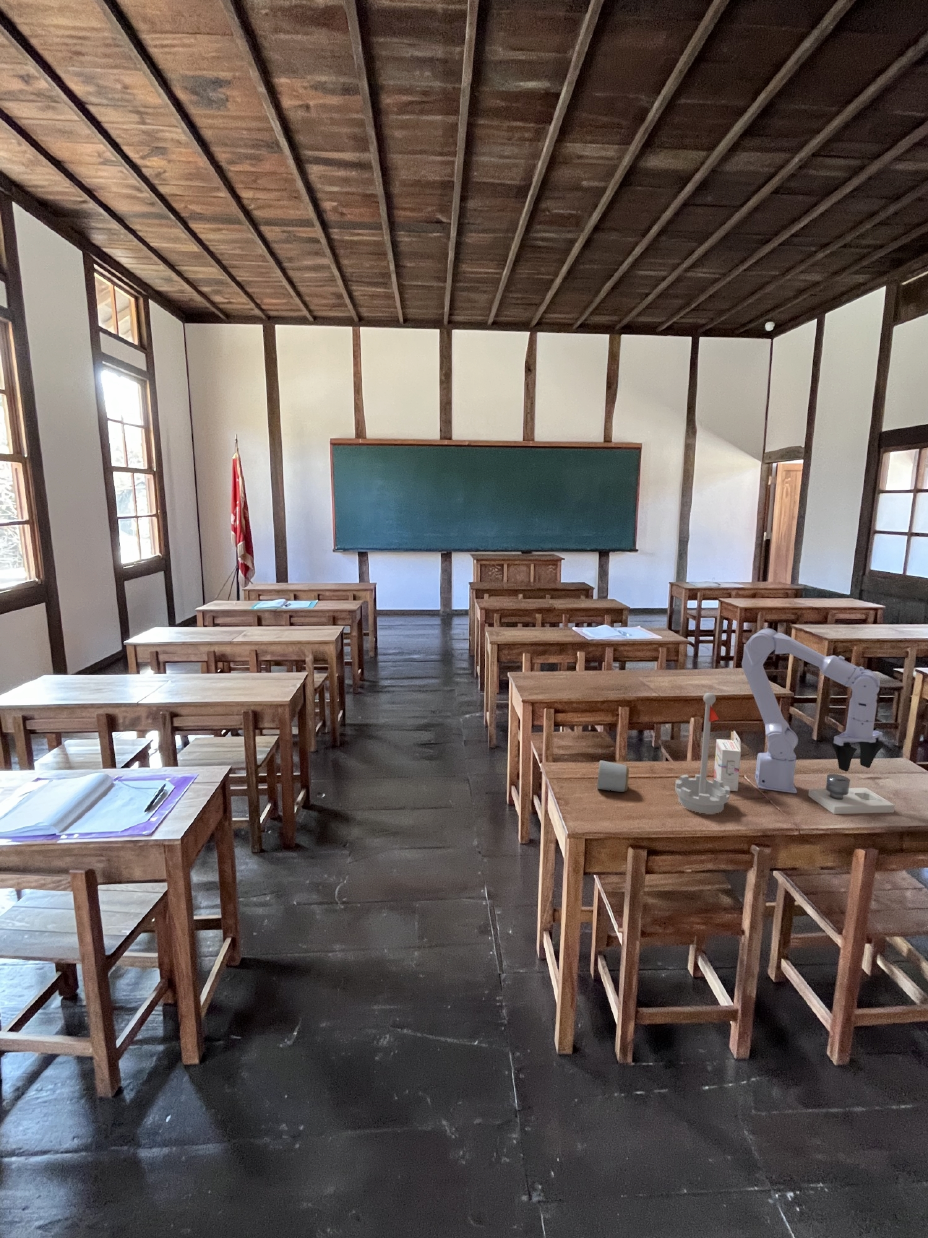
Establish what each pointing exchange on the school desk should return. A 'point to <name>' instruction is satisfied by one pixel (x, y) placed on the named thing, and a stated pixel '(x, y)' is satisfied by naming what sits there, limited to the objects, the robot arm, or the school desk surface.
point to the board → (852, 801)
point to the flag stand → (703, 776)
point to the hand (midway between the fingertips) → (854, 768)
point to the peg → (837, 786)
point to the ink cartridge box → (728, 762)
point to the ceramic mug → (612, 776)
